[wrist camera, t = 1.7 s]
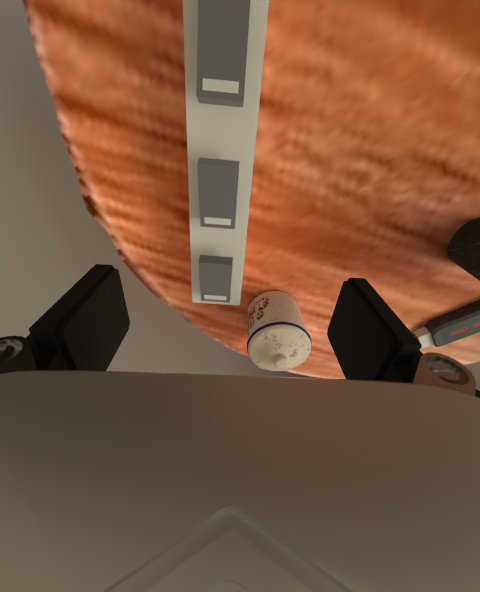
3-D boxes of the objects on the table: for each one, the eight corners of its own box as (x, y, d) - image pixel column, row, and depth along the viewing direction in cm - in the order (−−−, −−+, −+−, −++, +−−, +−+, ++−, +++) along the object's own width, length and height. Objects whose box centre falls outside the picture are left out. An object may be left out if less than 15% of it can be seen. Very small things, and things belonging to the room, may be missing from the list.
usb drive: (490, 316, 44) (503, 326, 42) (417, 344, 48) (426, 355, 46) (486, 295, 42) (501, 305, 39) (410, 326, 46) (419, 337, 43)
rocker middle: (199, 157, 25) (197, 163, 24) (239, 161, 25) (239, 167, 24) (201, 219, 31) (200, 226, 30) (235, 222, 31) (234, 229, 30)
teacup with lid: (257, 281, 40) (262, 331, 30) (309, 297, 42) (330, 349, 32) (233, 335, 46) (231, 390, 37) (279, 347, 48) (288, 403, 38)
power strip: (186, -87, 21) (173, -138, 17) (274, -76, 21) (281, -124, 17) (195, 287, 41) (190, 305, 37) (240, 290, 41) (239, 308, 37)
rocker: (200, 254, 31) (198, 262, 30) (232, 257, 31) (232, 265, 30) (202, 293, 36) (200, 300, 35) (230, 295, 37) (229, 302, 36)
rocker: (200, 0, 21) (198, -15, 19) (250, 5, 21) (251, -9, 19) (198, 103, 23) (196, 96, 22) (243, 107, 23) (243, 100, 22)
